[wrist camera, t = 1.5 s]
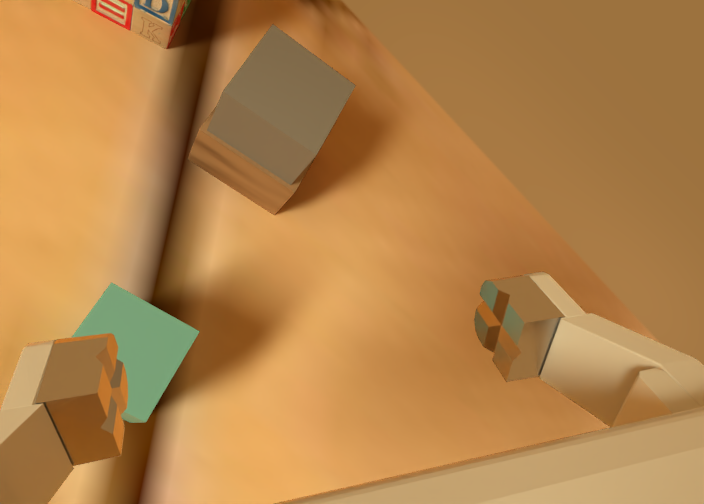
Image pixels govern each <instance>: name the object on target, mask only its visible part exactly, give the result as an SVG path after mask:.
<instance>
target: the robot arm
mask: <svg viewBox="0 0 704 504" xmlns="http://www.w3.org/2000/svg"><path fill="white" fill-rule="evenodd" d="M480 295H481V297H482V298H483V300H484V301H483V302H482V303H481V304H480V305H479V306H478V307H477V309H476V313H475V319H474V321H475V330H476V333H477V336H478V338H479V340H480V342H481V343H482V345H483V347H485V348H487V349H488V350H490V351H492V352H494V356H493V362H494V364H495V365H496V367H497V368H498V370H499V371H500V373H501V374H502V376H503V377H504V379H505V380H506V382H508V381H514V380H520V379H526V378H532V377H539V376H540V379H541V380H543V381H544V382H546V383H547V384H549V385H550V386H552V387H553V388H554V389H556V390H557V391H559V392H560V393H562V394H563V395H565V396H566V397H568V398H569V399H570V400H572V401H573V402H575V403H576V404H578V405H579V406H581V407H582V408H584V409H585V410H586V411H588V412H589V413H591V414H592V415H594V416H595V417H597V418H598V419H600V420H601V421H602V422H604V423H605V424H607V425H608V426H610V427H611V428H606V429H602V430H597V431H593V432H588V433H584V434H580V435H575V436H571V437H566V438H562V439H557V440H553V441H549V442H544V443H540V444H535V445H531V446H527V447H522V448H518V449H513V450H509V451H505V452H500V453H496V454H491V455H487V456H483V457H478V458H474V459H469V460H465V461H461V462H456V463H452V464H447V465H443V466H439V467H434V468H430V469H425V470H421V471H416V472H412V473H408V474H403V475H399V476H394V477H390V478H385V479H381V480H377V481H372V482H368V483H363V484H359V485H354V486H350V487H346V488H341V489H337V490H332V491H328V492H323V493H319V494H314V495H310V496H306V497H301V498H297V499H292V500H288V501H283V502H279V503H275V504H704V366H703V365H702V364H701V363H700V362H699V361H698V360H697V359H695V358H693V357H691V356H688V355H686V354H684V353H682V352H679V351H677V350H675V349H673V348H670V347H668V346H666V345H664V344H661V343H659V342H657V341H655V340H652V339H650V338H648V337H645V336H643V335H641V334H639V333H636V332H634V331H632V330H630V329H627V328H625V327H623V326H620V325H618V324H616V323H614V322H611V321H609V320H607V319H605V318H602V317H600V316H598V315H596V314H593V313H589V314H586V313H585V312H584V311H583V310H582V309H581V308H580V307H579V305H578V304H577V303H576V302H575V301H574V300H573V299H572V298H571V297H570V296H569V295H568V294H567V293H566V292H565V291H564V290H563V289H562V288H561V287H560V285H559V284H558V283H557V282H556V281H555V280H554V279H553V278H552V277H551V276H550V275H549V274H547V273H545V272H537V273H531V274H525V275H520V276H514V277H507V278H500V279H493V280H486V281H485V282H484V283H483V285H482V287H481V291H480ZM117 352H118V345H117V342H116V339H115V336H114V335H113V334H111V333H107V334H99V335H90V336H82V337H73V338H65V339H57V340H52V341H44V342H35V343H28V344H27V345H26V346H25V347H24V349H23V350H22V353H21V355H20V358H19V361H18V364H17V366H16V369H15V372H14V374H13V377H12V380H11V382H10V385H9V388H8V390H7V393H6V396H5V399H4V401H3V404H2V407H1V409H0V504H48V502H49V501H50V500H51V498H52V497H53V496H54V494H55V493H56V492H57V490H58V489H59V488H60V486H61V485H62V483H63V482H64V481H65V479H66V478H67V477H68V475H69V474H70V473H71V471H72V470H73V469H74V468H73V466H75V465H80V464H84V463H89V462H94V461H98V460H103V459H107V458H112V457H117V456H121V451H122V443H123V435H124V428H125V426H124V423H123V420H122V417H121V414H122V413H123V412H124V411H125V410H126V409H127V402H128V381H127V375H126V370H125V367H124V364H123V362H121V361H120V360H118V359H117Z"/></svg>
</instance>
